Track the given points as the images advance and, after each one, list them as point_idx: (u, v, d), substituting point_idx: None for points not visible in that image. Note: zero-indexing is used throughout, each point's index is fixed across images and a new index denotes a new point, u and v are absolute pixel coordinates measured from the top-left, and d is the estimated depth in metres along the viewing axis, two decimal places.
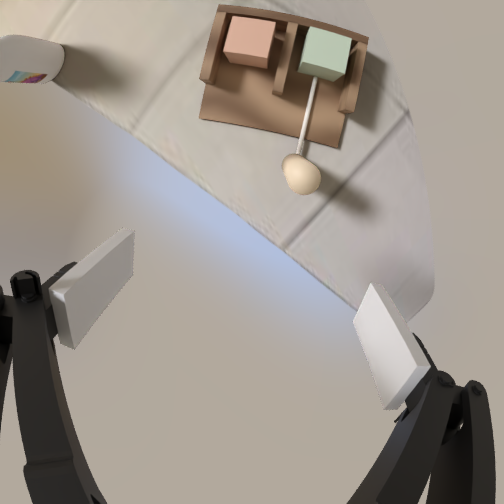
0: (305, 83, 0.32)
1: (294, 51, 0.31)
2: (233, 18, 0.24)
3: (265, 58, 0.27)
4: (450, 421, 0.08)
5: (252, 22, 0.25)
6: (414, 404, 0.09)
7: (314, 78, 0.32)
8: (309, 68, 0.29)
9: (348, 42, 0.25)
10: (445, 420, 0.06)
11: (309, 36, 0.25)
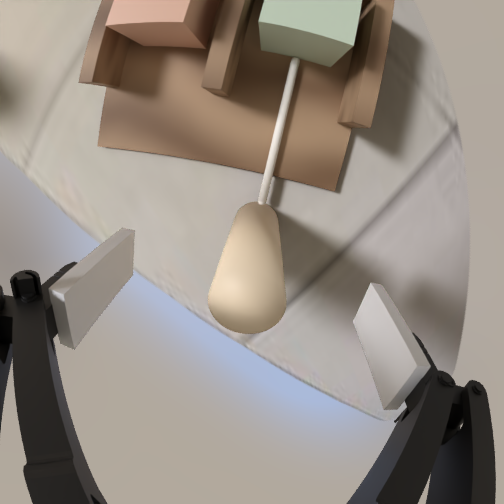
0: (276, 70, 0.17)
1: (257, 14, 0.15)
2: None
3: (182, 24, 0.11)
4: (451, 421, 0.08)
5: None
6: (414, 404, 0.09)
7: (293, 60, 0.16)
8: (279, 38, 0.13)
9: None
10: (445, 420, 0.06)
11: None
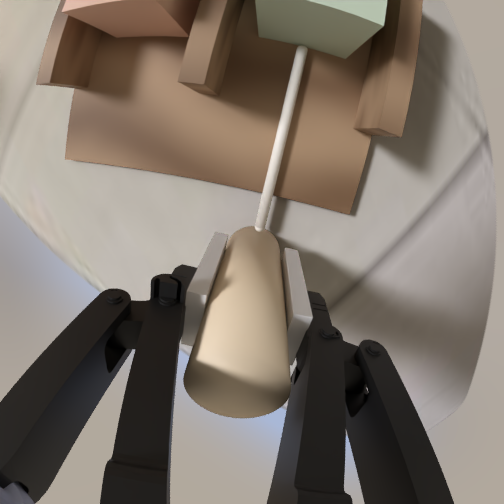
0: (278, 62, 0.13)
1: None
2: None
3: (152, 1, 0.08)
4: (345, 383, 0.10)
5: None
6: (302, 363, 0.10)
7: (299, 49, 0.12)
8: (282, 17, 0.09)
9: None
10: (341, 376, 0.08)
11: None
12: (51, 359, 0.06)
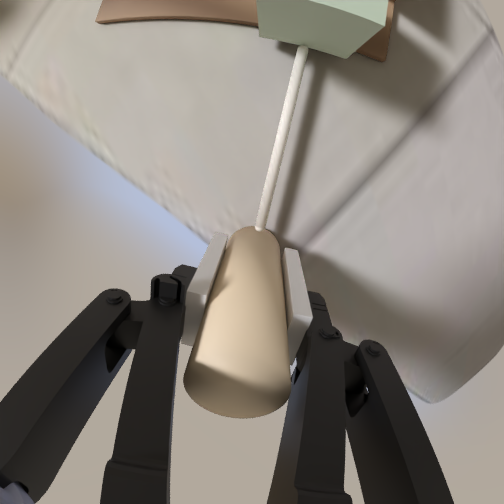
0: None
1: None
2: None
3: None
4: (345, 382, 0.10)
5: None
6: (302, 363, 0.10)
7: (300, 49, 0.12)
8: (283, 17, 0.09)
9: None
10: (341, 376, 0.08)
11: None
12: (51, 359, 0.06)
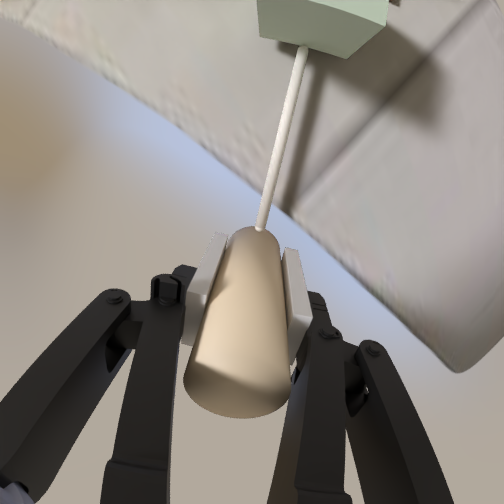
0: None
1: None
2: None
3: None
4: (345, 382, 0.10)
5: None
6: (302, 363, 0.10)
7: (300, 49, 0.12)
8: (283, 17, 0.09)
9: None
10: (341, 376, 0.08)
11: None
12: (51, 359, 0.06)
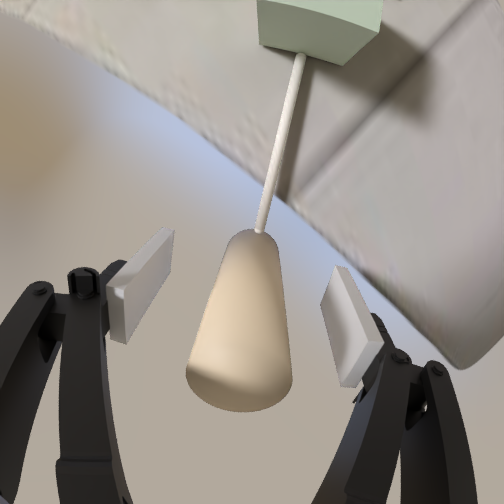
0: None
1: None
2: None
3: None
4: (410, 402, 0.09)
5: None
6: (370, 384, 0.10)
7: (298, 56, 0.13)
8: (282, 25, 0.10)
9: None
10: (405, 399, 0.07)
11: None
12: None
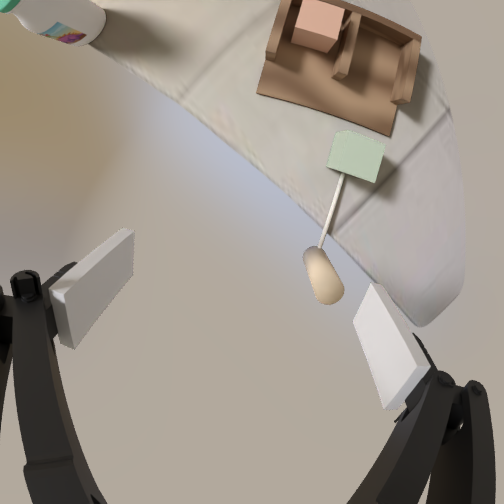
0: (362, 71, 0.31)
1: None
2: None
3: (334, 40, 0.25)
4: (451, 421, 0.08)
5: (323, 5, 0.23)
6: (414, 404, 0.09)
7: (342, 175, 0.37)
8: None
9: (382, 149, 0.30)
10: (445, 420, 0.06)
11: (346, 141, 0.30)
12: None
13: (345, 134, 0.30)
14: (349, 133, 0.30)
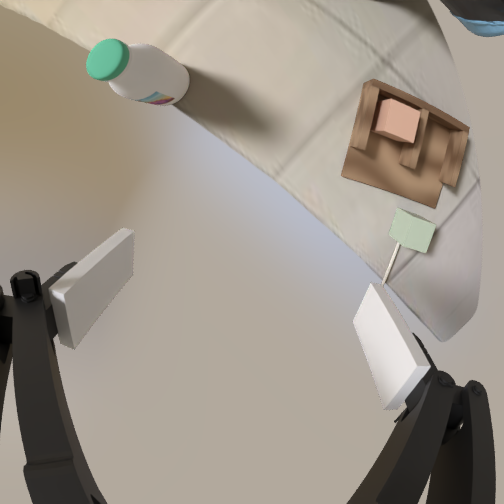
0: (420, 156, 0.40)
1: None
2: (391, 101, 0.32)
3: (411, 142, 0.34)
4: (451, 421, 0.08)
5: (405, 108, 0.32)
6: (414, 404, 0.09)
7: None
8: None
9: (433, 228, 0.39)
10: (445, 420, 0.06)
11: (411, 225, 0.39)
12: None
13: (409, 218, 0.40)
14: (413, 219, 0.39)
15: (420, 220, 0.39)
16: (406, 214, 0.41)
